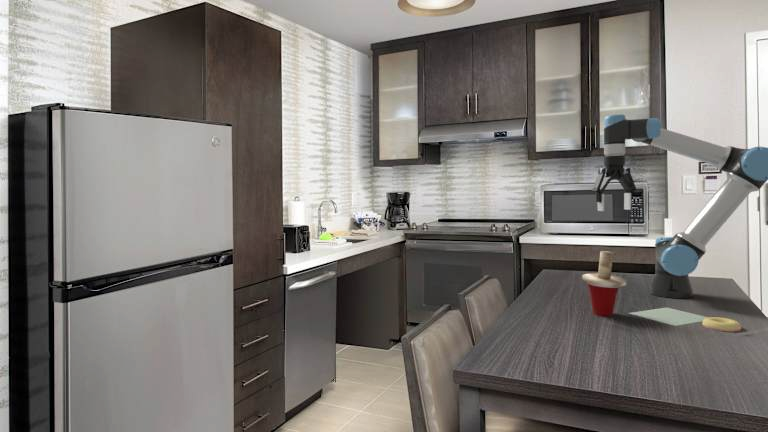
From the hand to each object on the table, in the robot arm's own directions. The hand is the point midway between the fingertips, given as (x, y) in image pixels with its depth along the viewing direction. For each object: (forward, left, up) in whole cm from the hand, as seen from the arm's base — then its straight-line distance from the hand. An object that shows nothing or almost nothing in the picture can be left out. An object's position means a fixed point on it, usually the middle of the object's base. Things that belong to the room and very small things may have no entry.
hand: (614, 210), depth 203 cm
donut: (+5, +47, -35) cm, 59 cm away
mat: (+7, +31, -35) cm, 47 cm away
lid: (+24, +19, -23) cm, 38 cm away
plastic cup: (+24, +19, -35) cm, 46 cm away
